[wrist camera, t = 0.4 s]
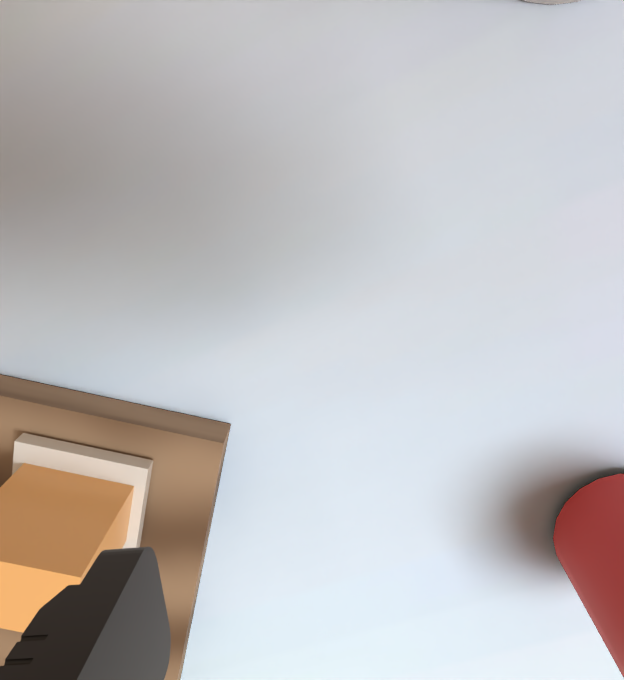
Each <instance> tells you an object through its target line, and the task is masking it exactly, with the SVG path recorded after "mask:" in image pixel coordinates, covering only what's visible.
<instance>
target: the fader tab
mask: <svg viewBox="0 0 624 680" xmlns="http://www.w3.org/2000/svg"><path fill="white" fill-rule="evenodd" d="M152 465H153V460H150V459H145V458H140V457H135V456H131V455H126V454H121V453H116V452H112V451H107V450H102V449H98V448H93V447H88V446H83V445H79V444H74V443H69V442H64V441H60V440H55V439H50V438H46V437H41V436H36V435H31V434H27V433H23V434H22V435H20V436H19V437H18V438H17V439H16V440H15V441H14V454H13V468H12V476H11V477H10V478H9V479H8V480H7V481H6V482H5V483H4V484H3V485H2V486H1V487H0V628H2V629H7V630H12V631H17V632H22V633H24V631H25V630H26V628H27V627H28V625H29V624H30V622H31V621H32V619H33V618H34V617H35V615H36V614H37V612H38V611H39V609H40V608H41V607H43V606H44V605H45V604H46V603H47V602H49V601H50V600H51V599H52V598H53V597H55V596H56V595H57V594H58V593H59V592H61V591H62V590H63V589H64V588H66V587H67V586H68V585H78V584H81V582H82V580H83V579H84V577H85V576H86V574H87V572H88V571H89V569H90V568H91V566H92V565H93V563H94V561H95V560H96V558H97V557H98V555H99V554H100V553H101V552H102V551H103V550H109V549H123V548H137V547H140V542H141V536H142V529H143V523H144V516H145V510H146V504H147V497H148V491H149V484H150V478H151V472H152Z"/></svg>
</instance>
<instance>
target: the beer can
mask: <svg viewBox="0 0 624 680" xmlns="http://www.w3.org/2000/svg"><path fill="white" fill-rule="evenodd" d="M553 541H554V546H555V550H556V555H557V557H558V559H559V561H560V563H561V564H562V566H563V568H564V570H565V572H566V574H567V575H568V577H569V579H570V581H571V583H572V584H573V586H574V588H575V590H576V592H577V594H578V595H579V597H580V599H581V601H582V603H583V605H584V606H585V608H586V610H587V612H588V614H589V615H590V617H591V619H592V621H593V623H594V625H595V626H596V628H597V630H598V632H599V634H600V635H601V637H602V639H603V641H604V643H605V645H606V646H607V648H608V650H609V652H610V654H611V655H612V657H613V659H614V661H615V663H616V665H617V666H618V668H619V670H620V672H621V674H622V675H623V677H624V474H616V475H612V476H608V477H603V478H599V479H597V480H595V481H593V482H591V483H590V484H588V485H586V486H584V487H582V488H580V489H579V490H578V491H577V492H576V493H575V494H574V495H573V496H572V497H571V498H570V499H569V500H568V501H567V502H566V503H565V504H564V506H563V508H562V510H561V511H560V513H559V515H558V517H557V519H556V523H555V529H554V535H553Z"/></svg>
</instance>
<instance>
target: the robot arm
mask: <svg viewBox="0 0 624 680" xmlns="http://www.w3.org/2000/svg"><path fill="white" fill-rule="evenodd" d="M524 1H526V2H533V3H542V4H550V5H554V4H562V3H571V2H578V1H581V0H524ZM170 648H171V634H170V626H169V620H168V615H167V610H166V604H165V599H164V594H163V589H162V583H161V578H160V573H159V568H158V562H157V558H156V555H155V552H154V550H153V549H152V548H151V547H137V548H123V549H109V550H103V551H102V552H101V553H100V554H99V555H98V557H97V558H96V560H95V561H94V563H93V565H92V566H91V568H90V569H89V571H88V572H87V574H86V576H85V577H84V579H83V580H82V582H81V584H78V585H68V586H67V587H66V588H64V589H63V590H62V591H61V592H59V593H58V594H57V595H56V596H55V597H53V598H52V599H51V600H50V601H49V602H47V603H46V604H45V605H44V606H43V607H41V608H40V609H39V611H38V612H37V614H36V615H35V617H34V618H33V619H32V621H31V622H30V624H29V625H28V627H27V628H26V630H25V631H24V633H23V634H22V635H21V641H20V642H17V643H16V644H15V646H14V647H13V649H12V650H11V651H10V653H9V654H8V656H7V657H6V659H5V664H4V666H0V680H164V678H165V675H166V672H167V669H168V664H169V658H170Z"/></svg>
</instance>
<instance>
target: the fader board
mask: <svg viewBox="0 0 624 680" xmlns="http://www.w3.org/2000/svg"><path fill="white" fill-rule="evenodd" d="M230 426H231V424H228V423H224V422H219V421H215V420H210V419H205V418H201V417H196V416H191V415H187V414H182V413H177V412H173V411H168V410H163V409H159V408H154V407H149V406H145V405H140V404H135V403H131V402H126V401H121V400H117V399H112V398H108V397H103V396H98V395H94V394H89V393H84V392H80V391H75V390H70V389H66V388H61V387H56V386H52V385H47V384H42V383H38V382H33V381H28V380H24V379H19V378H14V377H10V376H5V375H0V487H1V486H2V485H3V484H4V483H5V482H6V481H7V480H8V479H9V478H10V477H11V476H12V468H13V454H14V441H15V440H16V439H17V438H18V437H19V436H20V435H22V434H23V433H27V434H31V435H36V436H41V437H46V438H50V439H55V440H60V441H64V442H69V443H74V444H79V445H83V446H88V447H93V448H98V449H102V450H107V451H112V452H116V453H121V454H126V455H131V456H135V457H140V458H145V459H150V460H153V465H152V472H151V478H150V484H149V491H148V497H147V504H146V510H145V516H144V523H143V529H142V536H141V542H140V547H151V548H152V549H153V550H154V552H155V555H156V558H157V562H158V568H159V573H160V578H161V583H162V589H163V594H164V599H165V604H166V610H167V615H168V620H169V626H170V634H171V648H170V658H169V664H168V669H167V672H166V675H165V678H164V680H180V678H181V673H182V668H183V663H184V658H185V653H186V648H187V643H188V638H189V633H190V628H191V623H192V618H193V613H194V608H195V602H196V597H197V592H198V587H199V582H200V577H201V572H202V567H203V562H204V557H205V552H206V547H207V542H208V537H209V532H210V527H211V522H212V517H213V512H214V506H215V501H216V496H217V491H218V486H219V481H220V476H221V471H222V466H223V461H224V456H225V451H226V446H227V441H228V436H229V431H230ZM22 634H23V633H22V632H17V631H12V630H7V629H2V628H0V666H4V664H5V659H6V657H7V656H8V654H9V653H10V651H11V650H12V649H13V647H14V646H15V644H16V643H17V642H20V641H21V635H22Z"/></svg>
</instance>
